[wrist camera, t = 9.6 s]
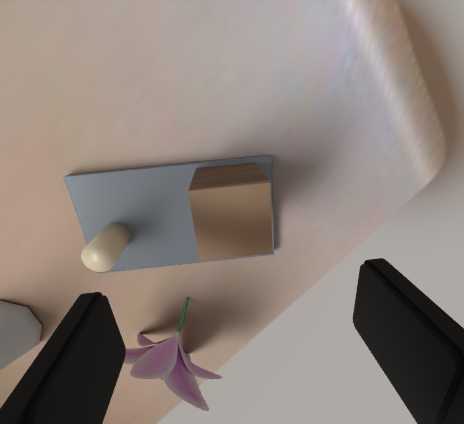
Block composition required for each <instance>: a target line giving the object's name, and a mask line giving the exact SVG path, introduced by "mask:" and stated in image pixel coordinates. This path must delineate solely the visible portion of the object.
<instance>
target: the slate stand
mask: <svg viewBox="0 0 464 424" xmlns="http://www.w3.org/2000/svg"><path fill="white" fill-rule="evenodd" d="M253 162H255V163H256V164H257V165H258V167H259V168H260V169H261V171H262V172H263V173H264V175H265V176H266V177H267V179H268V180H269V181H270V183H271V215H272V247H273V253H271V254H261V255H252V256H243V257H234V258H225V259H216V260H206V261H199V255H198V249H197V243H196V236H195V230H194V224H193V218H192V212H191V206H190V200H189V194H188V190H189V187H190V184H191V181H192V178H193V175H194V173H195V170H196V168H204V167H214V166H224V165H234V164H243V163H253ZM63 178H64V181H65V183H66V186H67V189H68V192H69V195H70V197H71V200H72V203H73V206H74V208H75V211H76V214H77V217H78V220H79V222H80V225H81V228H82V231H83V234H84V236H85V239H86V242H87V246H86V247H85V248H84V250H83V251H82V254H81V258H82V261H83V263H84V264H85V265H86V266H87V267H88V268H89V269H91V270H93V271H97V273H105V272H115V271H124V270H133V269H143V268H152V267H161V266H171V265H180V264H189V263H199V262H208V261H217V260H226V259H236V258H245V257H254V256H264V255H273V254H274V228H273V189H272V156H271V155H262V156H252V157H242V158H232V159H222V160H212V161H202V162H192V163H182V164H171V165H161V166H151V167H141V168H131V169H121V170H111V171H101V172H91V173H81V174H71V175H67V176H64V177H63Z"/></svg>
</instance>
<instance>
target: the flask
mask: <svg viewBox="0 0 464 424" xmlns="http://www.w3.org/2000/svg"><path fill="white" fill-rule="evenodd" d="M41 330H42V325H41V324H40V323H39V321H38V320H37V319H36V317H35V316H34V315H33V314H32V312H31V311H30V310H29V308H28V307H25V306H20V305H16V304H12V303H7V302H3V301H0V370H1V369H3V368H4V367H5V366H7V365H8V364H10V363H11V362H13V361H14V360H16V359H17V358H19V357H20V356H22V355H23V354H25V353H26V352H28V351H29V350H31V349H32V348H34V347H35V346H36V345H38V344H39V342H40V336H41Z"/></svg>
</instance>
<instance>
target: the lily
mask: <svg viewBox="0 0 464 424" xmlns="http://www.w3.org/2000/svg"><path fill="white" fill-rule="evenodd" d="M188 300H189V297H187V298H186V302H185V306H184V310H183V314H182V318H181V321H180V324H179V327H178V329H177V332H176V334H175V335H174V336H172V337H170V338H168V339H165V340H163V341H160V342H158V343H154V342H152V341H151V340H149V339H148V338H146V337H145V336H143V335H142V334H140V333H139V334H138V335H137V340H138V343H139V345H140V346H148V345H152V344H156V345H154V346H150V347H144V348H134V349H126V355H125V359H124V363H127V364H134V365H133V367H132V369H131V372H130V375H131V376H133V377H135V378H141V379H154V378H161V377H162V378H163V381H164V382H165V383H166V385H167V386H168V388H169V389H170V390H172V391H173V392H174V393H175V394H176V395H177V396H179V397H180V398H182V399H183V400H185V401H186V402H188V403H190V404H192V405H194V406H195V407H198V408H200V409H202V410H206V411H208V410H209V408H208V405H207V403H206V402H205V400H204V398H203V396H202V394H201V392H200V389H199V386H198V384H197V381H196V378H195V376H197V377H200V378H205V379H219V378H222V377H221V376H219V375H217V374H214V373H212V372H209V371H207V370H205V369H203V368H200V367H198V366H196V365H194V364H193V363H192V362H191V358H190V355H189V354H187V353H184V351H183V349H182V347H181V345H180V343H179V340H178V335H179V332H180V330H181V327H182V323H183V320H184V317H185V313H186V309H187V305H188ZM162 378H161V379H162Z"/></svg>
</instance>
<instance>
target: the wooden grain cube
mask: <svg viewBox="0 0 464 424" xmlns="http://www.w3.org/2000/svg"><path fill="white" fill-rule="evenodd" d="M188 194H189V200H190V206H191V212H192V218H193V224H194V230H195V236H196V243H197V249H198V255H199V261H206V260H216V259H225V258H234V257H243V256H252V255H261V254H271V253H273V247H272V215H271V183H270V181H269V180H268V179H267V177H266V176H265V175H264V173H263V172H262V171H261V169H260V168H259V167H258V165H257V164H256V163H255V162H253V163H243V164H234V165H224V166H214V167H204V168H196V170H195V173H194V175H193V178H192V181H191V184H190V187H189V190H188Z"/></svg>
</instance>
